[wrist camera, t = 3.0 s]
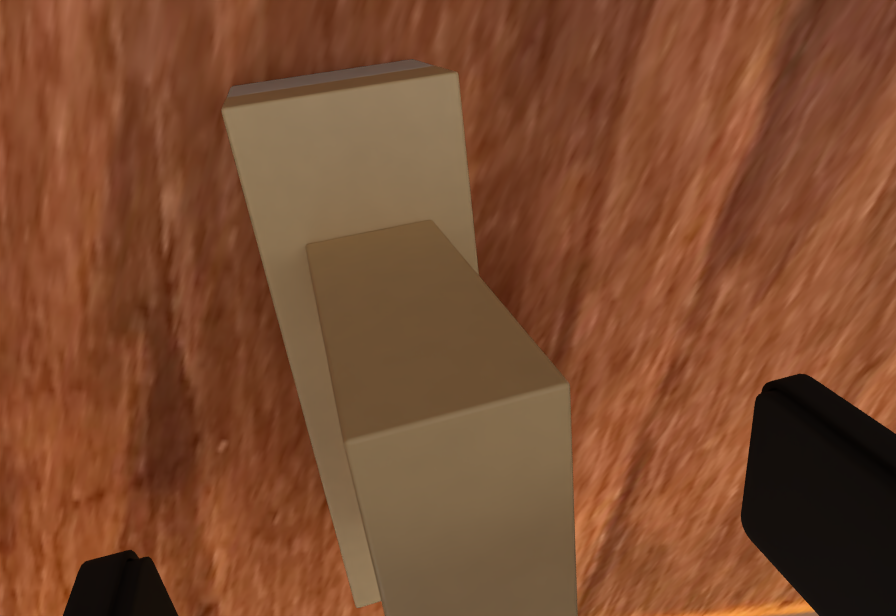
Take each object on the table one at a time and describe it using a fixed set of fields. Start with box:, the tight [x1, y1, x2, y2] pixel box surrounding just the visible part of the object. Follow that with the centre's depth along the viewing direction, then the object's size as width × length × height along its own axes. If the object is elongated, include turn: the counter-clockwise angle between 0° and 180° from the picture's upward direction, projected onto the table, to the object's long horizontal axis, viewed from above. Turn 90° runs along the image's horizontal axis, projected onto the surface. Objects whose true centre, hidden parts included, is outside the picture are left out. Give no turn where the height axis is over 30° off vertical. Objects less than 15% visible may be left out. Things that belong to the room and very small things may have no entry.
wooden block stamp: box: [221, 59, 578, 616], centre depth 12 cm, size 4×12×10 cm, turn 7°
